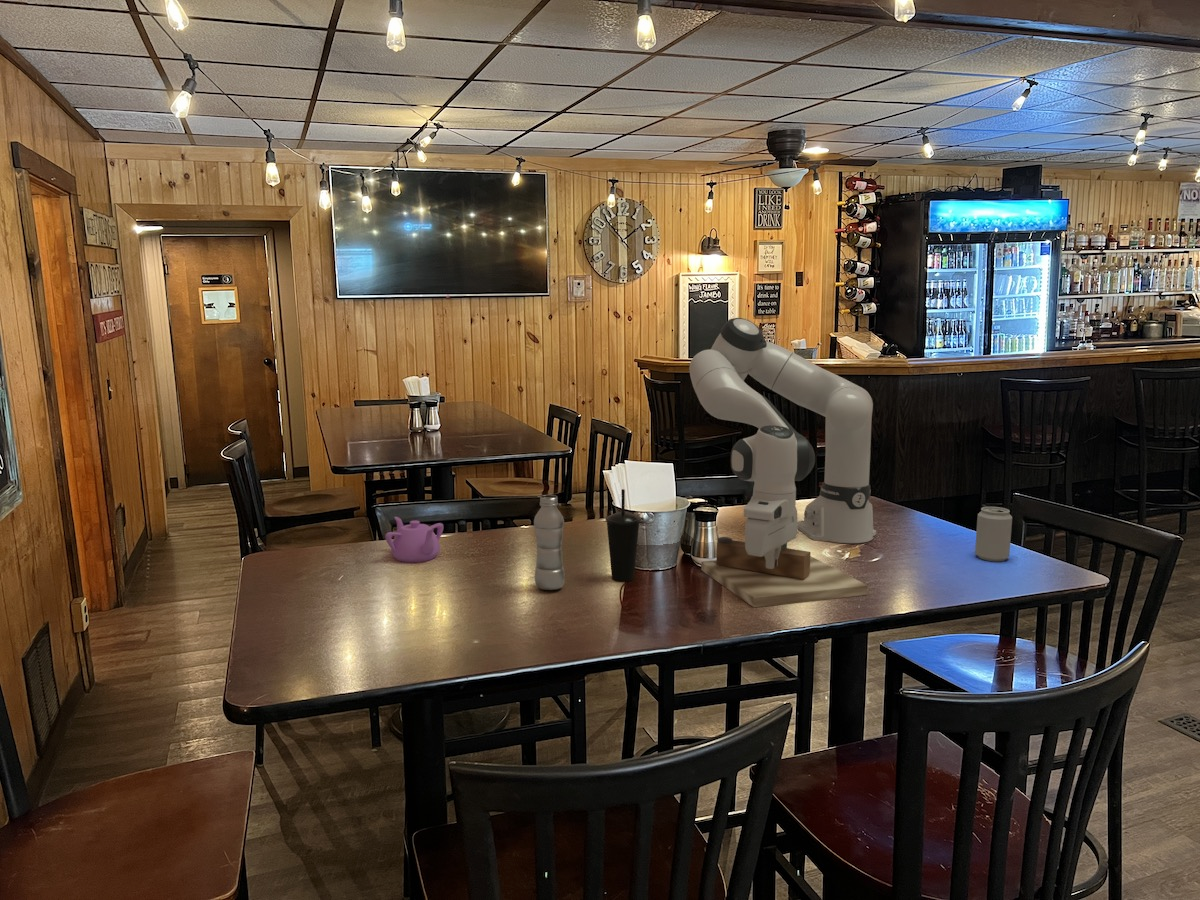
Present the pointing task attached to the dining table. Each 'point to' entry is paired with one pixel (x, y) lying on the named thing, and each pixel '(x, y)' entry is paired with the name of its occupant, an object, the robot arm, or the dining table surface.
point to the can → (993, 534)
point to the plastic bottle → (549, 544)
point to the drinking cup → (622, 543)
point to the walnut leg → (762, 559)
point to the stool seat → (785, 584)
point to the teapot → (414, 541)
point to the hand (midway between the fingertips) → (771, 567)
